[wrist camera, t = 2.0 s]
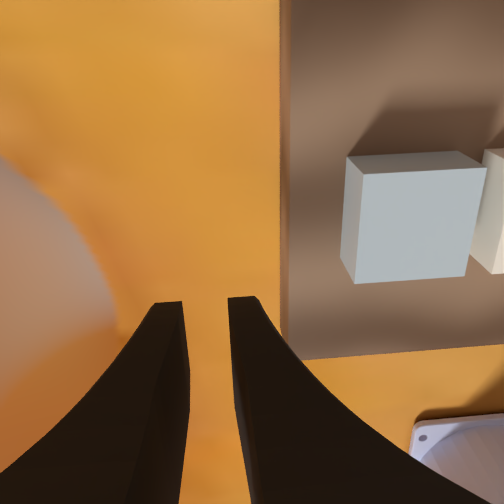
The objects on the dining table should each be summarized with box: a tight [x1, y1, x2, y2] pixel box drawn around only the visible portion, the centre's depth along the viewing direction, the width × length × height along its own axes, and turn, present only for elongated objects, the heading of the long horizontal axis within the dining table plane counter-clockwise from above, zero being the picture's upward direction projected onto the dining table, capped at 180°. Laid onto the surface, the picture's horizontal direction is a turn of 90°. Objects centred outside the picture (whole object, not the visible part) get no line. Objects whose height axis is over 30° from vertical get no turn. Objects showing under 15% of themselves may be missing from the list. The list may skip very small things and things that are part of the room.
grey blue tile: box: [340, 151, 487, 284], centre depth 16 cm, size 4×4×2 cm
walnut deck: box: [280, 0, 504, 360], centre depth 19 cm, size 14×13×2 cm
